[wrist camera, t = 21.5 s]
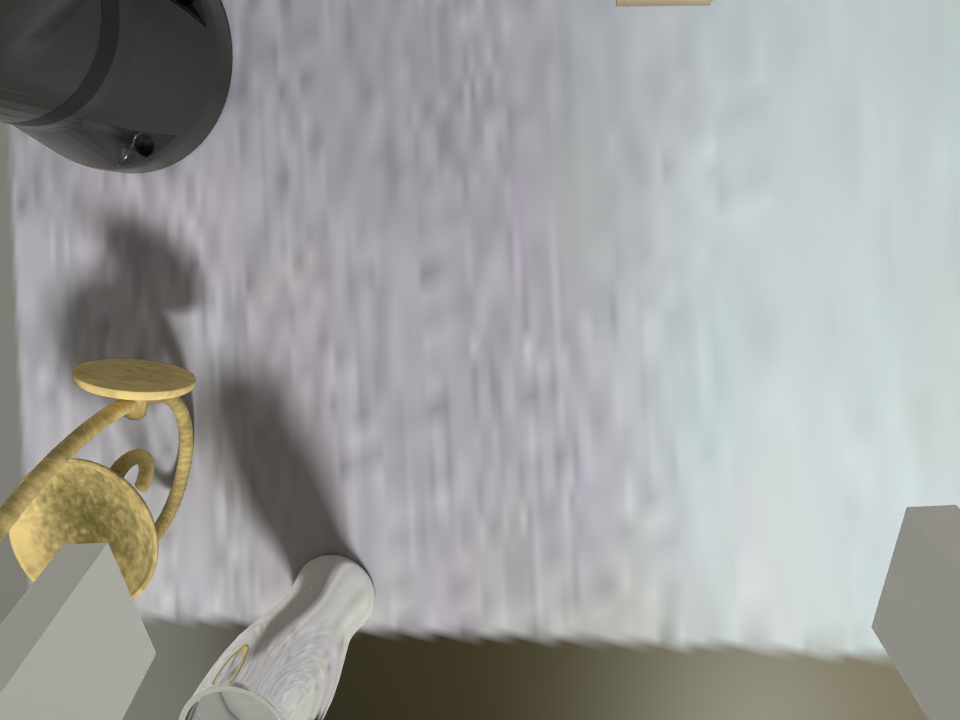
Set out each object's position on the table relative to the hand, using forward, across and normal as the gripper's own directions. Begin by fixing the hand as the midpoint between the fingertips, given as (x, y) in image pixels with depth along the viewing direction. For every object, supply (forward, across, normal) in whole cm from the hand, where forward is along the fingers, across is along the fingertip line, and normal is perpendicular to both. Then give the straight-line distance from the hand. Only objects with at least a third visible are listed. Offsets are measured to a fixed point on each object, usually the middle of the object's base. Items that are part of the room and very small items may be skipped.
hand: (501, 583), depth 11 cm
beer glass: (+27, -13, -29) cm, 42 cm away
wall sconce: (+32, -23, -18) cm, 43 cm away
